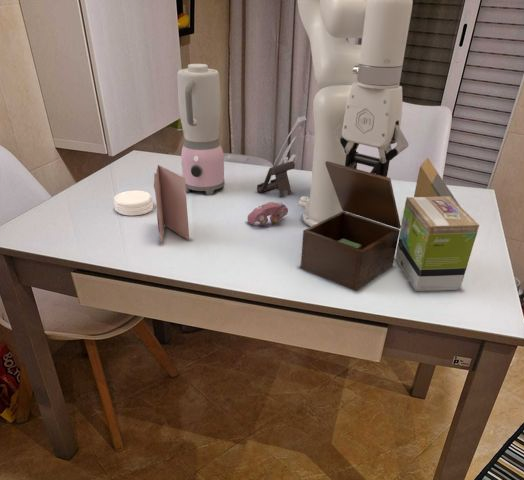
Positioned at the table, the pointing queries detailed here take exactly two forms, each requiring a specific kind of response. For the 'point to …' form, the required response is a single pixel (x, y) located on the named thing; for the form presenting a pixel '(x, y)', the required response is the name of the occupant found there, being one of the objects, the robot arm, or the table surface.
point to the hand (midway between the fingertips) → (364, 176)
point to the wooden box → (349, 249)
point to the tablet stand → (277, 179)
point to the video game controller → (267, 213)
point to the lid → (364, 191)
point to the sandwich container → (431, 182)
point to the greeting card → (171, 202)
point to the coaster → (133, 202)
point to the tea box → (435, 243)
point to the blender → (201, 128)
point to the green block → (351, 243)
